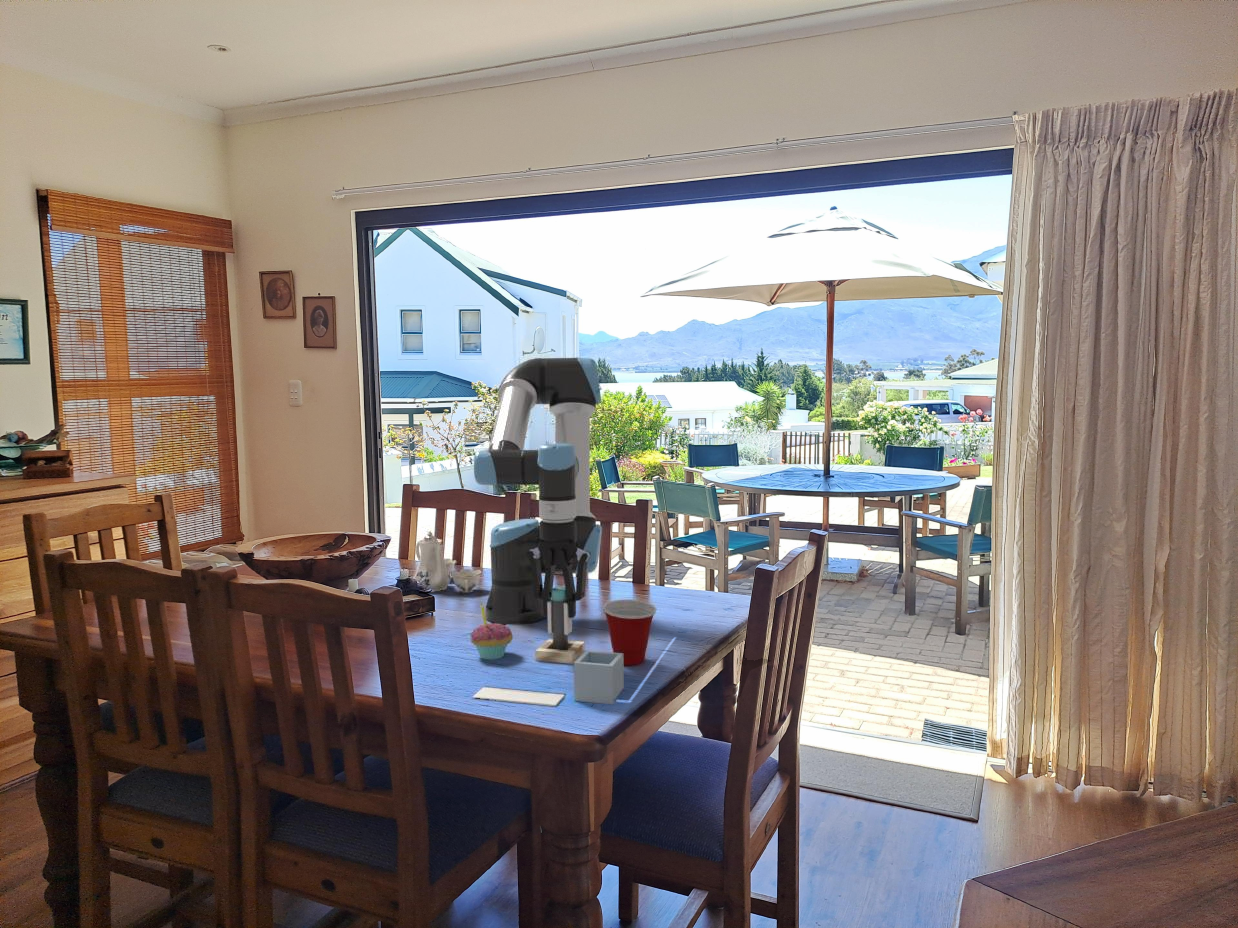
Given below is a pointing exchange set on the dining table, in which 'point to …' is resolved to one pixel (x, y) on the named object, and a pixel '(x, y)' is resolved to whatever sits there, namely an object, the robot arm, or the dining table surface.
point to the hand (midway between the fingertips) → (560, 631)
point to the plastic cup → (629, 628)
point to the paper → (519, 696)
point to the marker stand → (560, 652)
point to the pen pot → (598, 677)
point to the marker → (558, 619)
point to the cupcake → (491, 638)
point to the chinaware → (441, 568)
